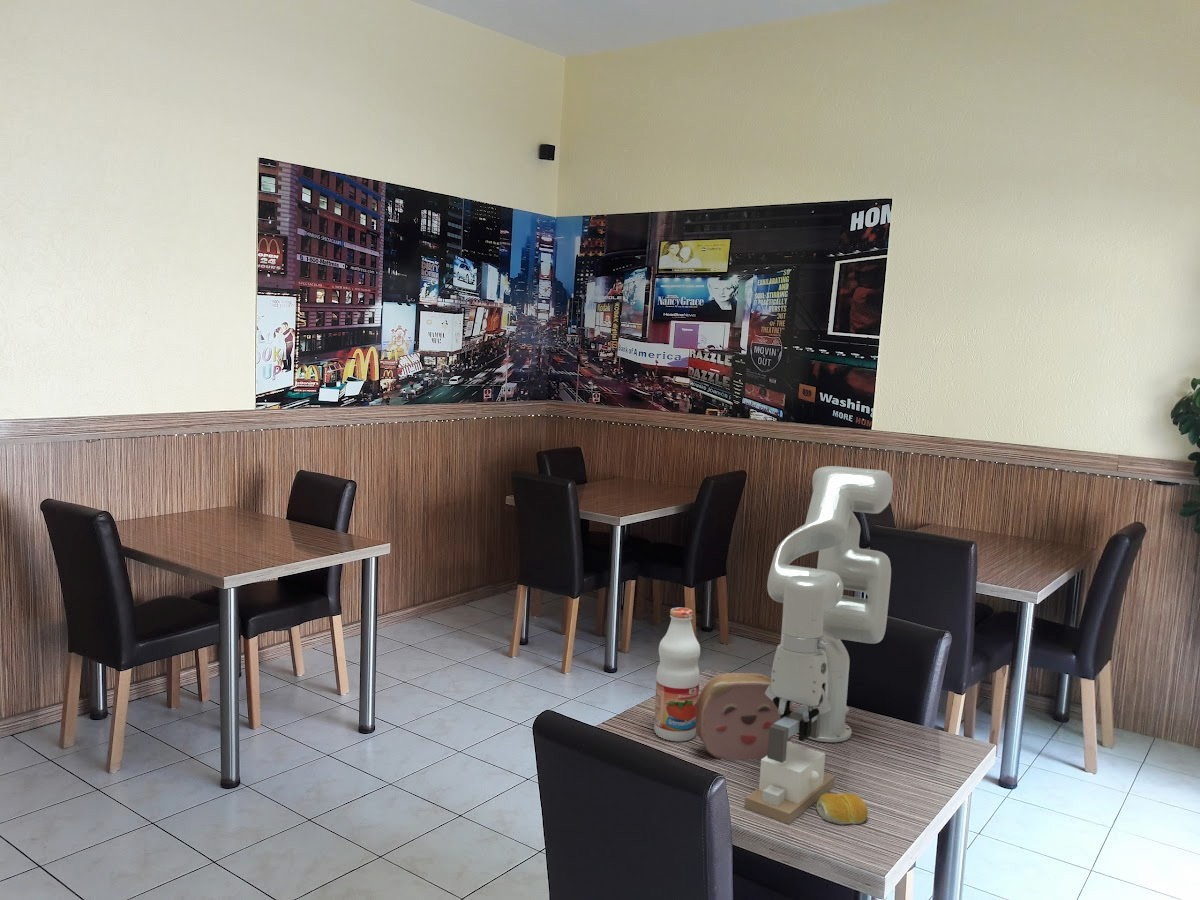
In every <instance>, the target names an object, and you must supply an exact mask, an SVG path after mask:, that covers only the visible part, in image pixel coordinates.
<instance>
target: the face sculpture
mask: <svg viewBox="0 0 1200 900" xmlns="http://www.w3.org/2000/svg"><path fill="white" fill-rule="evenodd" d="M770 683H771V677H770V678H769V677H768V676H767V675H764V674H762V673H755V672H754V673H751V672H750V673H748V672H745V673H744V672H743V673H740V672H726V673H721V674H719V675H716V676H714V677H713V678H711V679H710V680H709V681H707V683H706V684H705V685H704V686H703V687H702V689H701V691H700V693H699V697H698V703H697V716H696V736H697V737H698V738H699V740H701V741H702V743H703V747H704V748H705V751H706V752H707V753H709V754H710V755H711V756H713V757H715V758H716V759H717V758H718V760H722V759H723V760H726V761H727V760H728V761H731V760H733V761H734V760H736V761H737V760H738V761H741V760H742V761H743V760H744V761H745V760H761V759H763V758H764V757H766V756H767V755H768V740H769V726H771V725H773V724H774V723H775V722H777V721H779V720H780V717H781V714H779V712H778V708H777V707H776V705H775V704H774V702H773V700H771V699H770V698H769V697H767V696H766V695H765V691H766V689H767V688H768V686H769V685H770ZM790 711H792V712H793V711H794V708H793V705H792V704H791V707H790ZM793 737H794V735H793V736H792V737H790V738H789V739H787V742H790V741H791V740H792V739H793ZM723 760H722V761H723Z"/></svg>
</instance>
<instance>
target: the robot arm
mask: <svg viewBox="0 0 1200 900" xmlns="http://www.w3.org/2000/svg"><path fill="white" fill-rule="evenodd" d="M893 492H894V483H893V479H892V476H891V475H890V473H889V472H888V471H887V470H883V469H882V470H880V469H871V468H861V467H860V468H859V467H850V466H840V465H836V466H834V465H829V466H828V465H826V466H821V467H819V468H817V469H815V471H814V473H813V475H812V494H811V499H810V503H809V507H808V511H807V515H806V519H805V523H804V524H803V525H800V526H799V527H797V528H796V529H795V530H792V532H790V533H789V534H788V535H786V537H785V538H784V539H783V540H782V541H781V542H780V543H779V544H778V546H777V548H776V549H775V551H774V553H773V558H772V562H771V565H770V569H769V571H768V576H767V583H766V584H767V585H766V586H767V587H766V588H767V593H768V595H769V597H770V598H771V599H772V601H775V602H777V603H782V621H781V622H782V623H781V632H780V634H781V635H780V644H778V645H777V647H776V651H775V653H774V659H773V662H772V667H771V668H772V669H771V673H770V679H771V683H770V685H769V686H768V688H767V689H766V691H765V695H766V696H767V697H769V698H770V699H771V700H773V702H774V704H775V705H776V707H777V708H778V712H779V714H781V717H780V719H782V718H783V717H785V716H787V715H788V714H790V713H792V711H790V707H791V705H792V703H796V704H800V705H801V706H802V708H803V717H802V720H801V721H800V730H799V732H797V733H796V734H798V740H799V742H804V741H806V740H807V739H810V740H812V741H815V742H822V743H823V742H824V743H841V742H845V741H847V740H849V739H850V738H851V737H852V733H853V732H852V728H851V726H849V725H848V724H847V723H846V715H847V714H848V713H849V712H850V708H849V706H847V700H848V687H849V672H850V656H849V655H850V654H849V652H848V650H847V648H846V646H845V645H844V643H843V642H842V641H843V640H845V641H852V642H857V643H858V642H859V643H864V644H878V643H880V642H881V641H882V640H883V639H884V636H885V634H886V629H887V621H888V611H889V600H890V592H891V581H892V580H891V579H892V567H891V560H890V558H889V557H888V555H887V554H886V553H884V552H883V551H879V550H876V549H875V550H874V549H867V548H861V547H860V536H861V531H862V530H861V524H860V522H859V520H858V518H857V517H856V515H855V513H854V512H856V513H863V514H864V513H866V514H874V515H875V514H880V513H882V512H883V511H884V510H885V509H886V508H887V507H888V506H889V504H890V502H891V499H892V497H893ZM814 552H818V557H817V567H816V568H813V567H807V566H805V567H804V566H799V565H791V563H792V562H793V561H795V560H796V559H797V558H800V557H802V556H804V555H808V554H811V553H814ZM844 590H846V591H853V592H862V593H864V594H865V595H867V598H863V597H856V596H849V595H844ZM816 706H820V707H816ZM815 707H816V708H815ZM819 714H821V717H820V731H819V737H817V738H812V737H809V736H810V734H811V725H812V718H814V717H815V716H817V715H819Z"/></svg>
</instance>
